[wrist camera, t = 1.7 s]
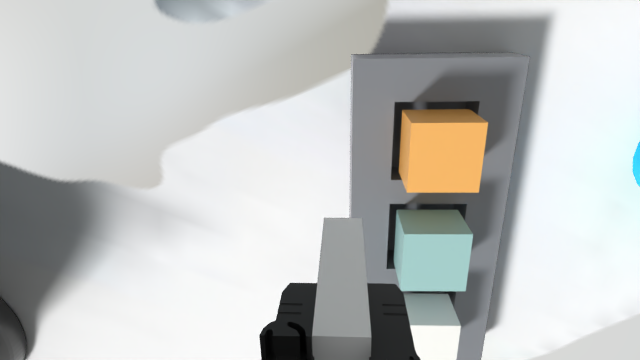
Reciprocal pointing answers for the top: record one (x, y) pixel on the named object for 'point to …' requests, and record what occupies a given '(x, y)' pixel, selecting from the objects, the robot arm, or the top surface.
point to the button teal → (432, 250)
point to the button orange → (442, 150)
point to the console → (390, 194)
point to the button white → (433, 326)
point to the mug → (637, 164)
